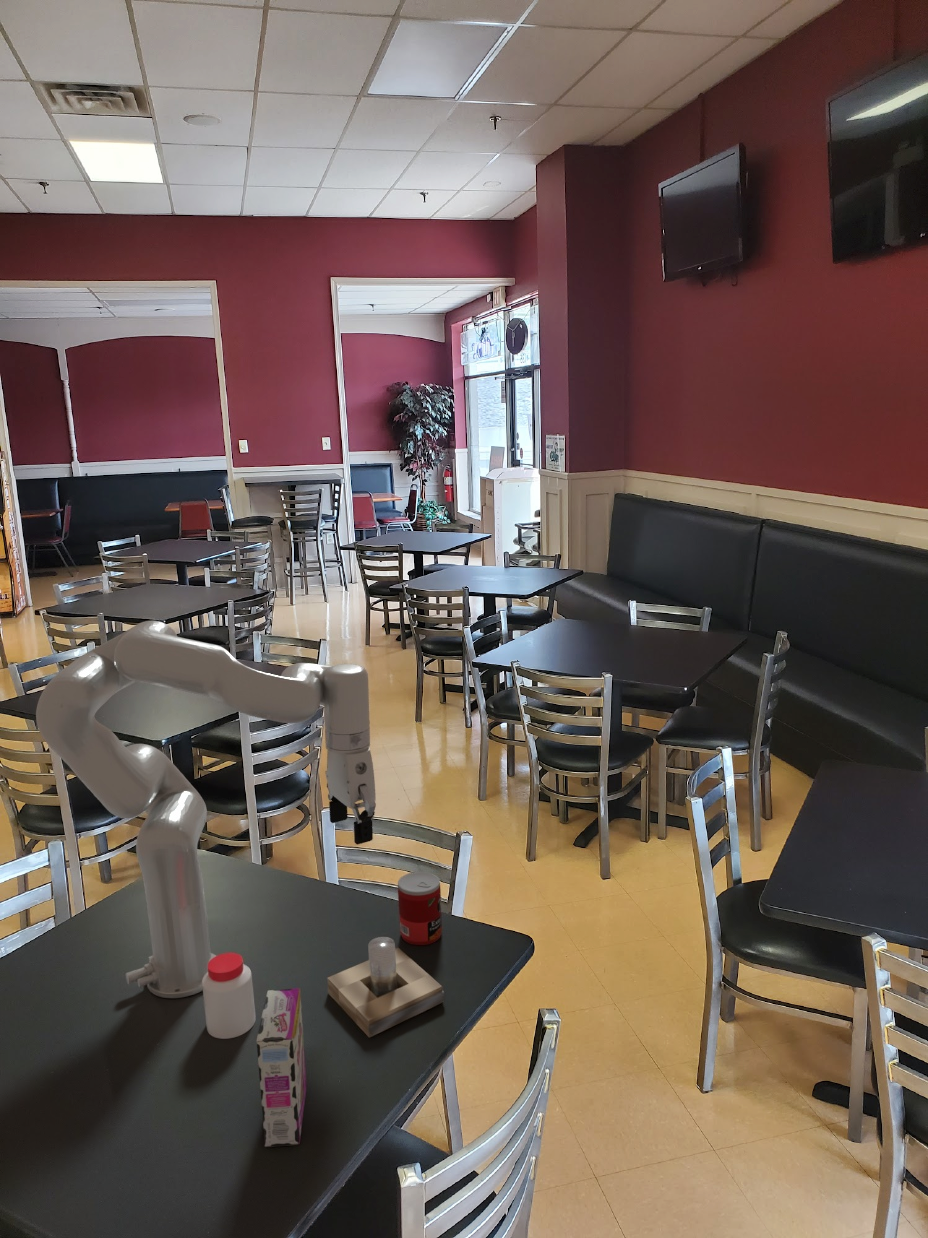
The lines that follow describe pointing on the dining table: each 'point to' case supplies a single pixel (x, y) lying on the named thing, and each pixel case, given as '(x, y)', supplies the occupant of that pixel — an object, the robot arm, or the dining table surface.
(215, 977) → the pill bottle
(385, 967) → the frosted glass cylinder
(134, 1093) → the dining table surface
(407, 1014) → the frame
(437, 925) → the canned food
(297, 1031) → the candy bar box
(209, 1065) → the dining table surface
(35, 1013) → the dining table surface
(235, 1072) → the dining table surface
